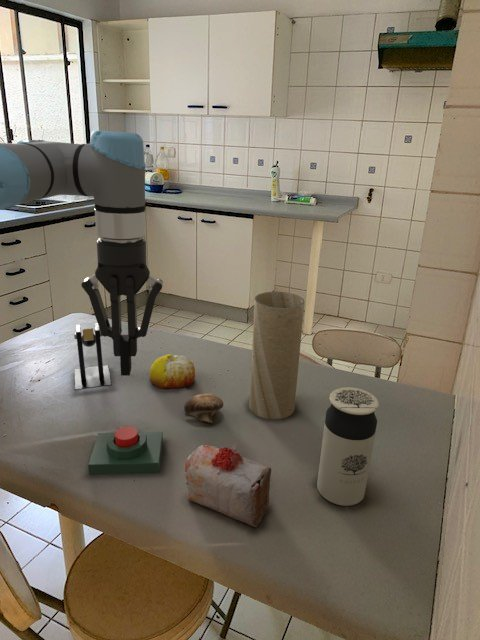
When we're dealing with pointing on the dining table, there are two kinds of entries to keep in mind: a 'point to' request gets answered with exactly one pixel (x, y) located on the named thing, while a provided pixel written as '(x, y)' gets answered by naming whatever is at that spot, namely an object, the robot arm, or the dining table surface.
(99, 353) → the bracket
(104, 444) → the button box
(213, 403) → the mushroom
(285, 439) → the dining table surface
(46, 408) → the dining table surface
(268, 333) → the tube
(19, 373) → the dining table surface
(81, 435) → the dining table surface
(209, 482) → the food item
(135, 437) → the button
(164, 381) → the fruit
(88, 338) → the lever
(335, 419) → the travel mug
